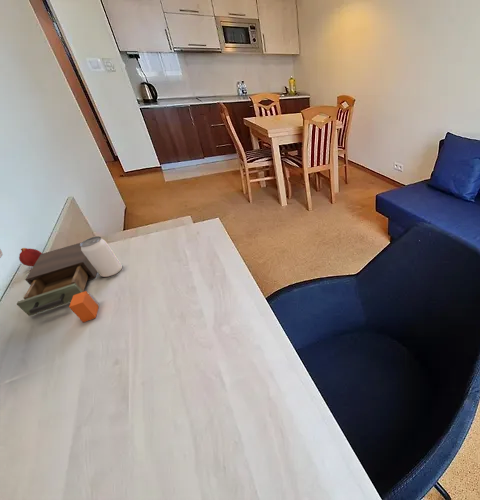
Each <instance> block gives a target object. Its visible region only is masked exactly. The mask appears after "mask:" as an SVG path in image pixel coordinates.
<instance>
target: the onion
mask: <svg viewBox="0 0 480 500" xmlns="http://www.w3.org/2000/svg"><path fill="white" fill-rule="evenodd" d="M41 254H43V253H42V252H41V251H40V250H38V249H35V248H26V247H22V248H20V253H19V256H18V260H19V262H20V263H21V264H23V265H24V266H25V267H33V266H34V264H35V263H36V261H37V260H38V258H39V256H40V255H41Z"/></svg>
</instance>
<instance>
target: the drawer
mask: <svg viewBox="0 0 480 500" xmlns="http://www.w3.org/2000/svg"><path fill="white" fill-rule="evenodd" d="M88 276H89V274H88V272H87V271H86V270H85V269H84V267H83V266H82V265H79V266H76V267H73V268H69V269H66V270H63V271H60V272H56V273H53V274H50V275H47V276H43V277H40V278H37V279H34V280H33V282H32V284H31V285H30V286H29V288H28V289H27V291H26V292H25V294H24V296H23V299H22V300H21V299H20V300H17V302H16V305H17V306H18V307H19V308H20V310H22V311H23V312H24V313H25V314H26V315H27V316H28V317H30V316H34V315H36V314H39V313H43V312H45V311H48V310H52V309H54V308H57V307H60V306H63V305H66V304H70V303H71V300H72V298H73V295H76V294H79V293H82V292H85V288H86V285H87V282H88V280H87V279H88Z"/></svg>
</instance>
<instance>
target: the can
mask: <svg viewBox="0 0 480 500" xmlns="http://www.w3.org/2000/svg"><path fill="white" fill-rule="evenodd" d="M81 242H82V243H81ZM81 242H80V243H81V244H80V246H81V250H82V252H83V253H84V255H85V256H86V257H87V259H88V260H89V261H90V263H91V264H92V265H93V267H94V268H95V269H96V270H97V274H99V276H100V277H103V278H109V277H112V276H115V275H117V274H119V272H121V271H122V269H123V265H122V263H121V262H120V260H119V259H118V256H117V255H116V254H115V253H114V251H113V250H112V248H111V247H110V245H109V244H108V243H107V241H106V240H105V239H104V238H102V237H101V236H92V237H89V238H86V239H85V240H83V241H81Z"/></svg>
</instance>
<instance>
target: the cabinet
mask: <svg viewBox="0 0 480 500" xmlns="http://www.w3.org/2000/svg"><path fill="white" fill-rule="evenodd" d="M82 242H83V241H81V242H78V243H74V244H71V245H68V246H63V247H61V248H57V249H53V250H50V251H47V252H43V253H42V254H41V255H40V256H39V258H38V260H37V261H36V263H35V264H34V266H32V268H31V269H30V271H29V273H28V274H27V276H26V277H25V281H26V282H27V283H28V284H29V285H30V286H31V284H32V282H33V280H34V279H37V278H40V277H43V276H47V275H50V274H53V273H56V272H60V271H63V270H66V269H69V268H73V267H76V266H79V265H82V266H83V267H84V269H85V270H86V271H87V272H88V274H89V276H88V279H87V281H90V280H93V279H95V278H97V277H96V276H97V274H98V272H97V270H96V269H95V268H94V267H93V265H92V264H91V263H90V261H89V260H88V259H87V257H86V256H85V255H84V253H83V252H82V250H81V246H80V244H81V243H82Z"/></svg>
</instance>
